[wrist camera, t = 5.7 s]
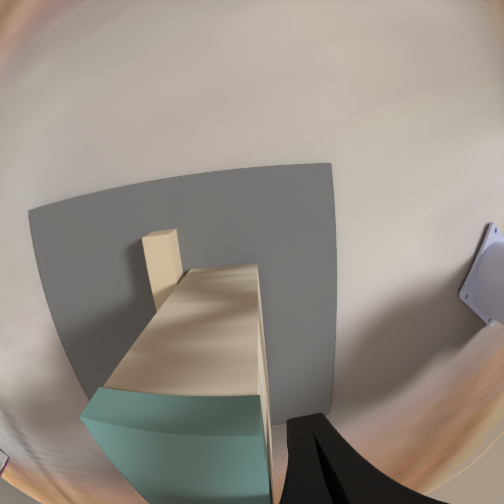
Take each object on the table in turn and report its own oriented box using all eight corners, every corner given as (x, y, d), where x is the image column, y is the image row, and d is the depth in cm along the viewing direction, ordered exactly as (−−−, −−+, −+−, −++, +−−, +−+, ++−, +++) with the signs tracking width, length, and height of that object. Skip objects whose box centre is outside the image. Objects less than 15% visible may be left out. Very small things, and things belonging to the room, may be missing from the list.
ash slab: (258, 262, 16) (260, 435, 4) (269, 382, 18) (276, 537, 6) (189, 268, 16) (78, 416, 4) (213, 385, 18) (183, 533, 6)
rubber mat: (328, 163, 16) (344, 159, 13) (327, 410, 20) (335, 429, 18) (32, 209, 15) (11, 213, 12) (104, 420, 19) (96, 438, 17)
